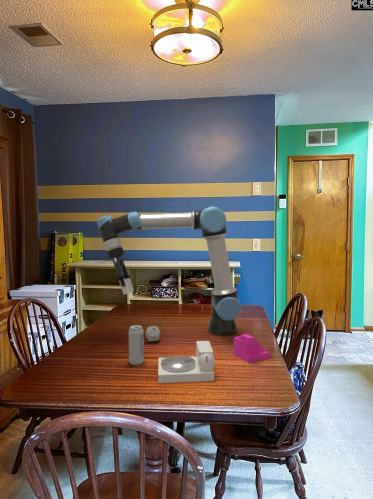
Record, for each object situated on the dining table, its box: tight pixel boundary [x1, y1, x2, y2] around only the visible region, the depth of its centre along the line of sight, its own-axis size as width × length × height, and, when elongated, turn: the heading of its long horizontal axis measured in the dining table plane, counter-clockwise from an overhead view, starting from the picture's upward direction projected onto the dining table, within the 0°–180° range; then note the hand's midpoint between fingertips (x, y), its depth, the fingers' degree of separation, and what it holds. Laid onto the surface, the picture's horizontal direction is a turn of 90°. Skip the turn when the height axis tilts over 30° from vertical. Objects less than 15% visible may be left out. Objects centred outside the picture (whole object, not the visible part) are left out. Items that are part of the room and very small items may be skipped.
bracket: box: [233, 333, 273, 364], centre depth 149 cm, size 12×10×10 cm
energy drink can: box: [128, 324, 145, 366], centre depth 142 cm, size 6×6×15 cm
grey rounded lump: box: [144, 324, 163, 344], centre depth 168 cm, size 9×8×10 cm
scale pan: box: [161, 355, 195, 372], centre depth 133 cm, size 13×13×1 cm
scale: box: [157, 340, 216, 384], centre depth 133 cm, size 20×16×10 cm
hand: (128, 292), depth 161 cm, fingers open, 13 cm apart
